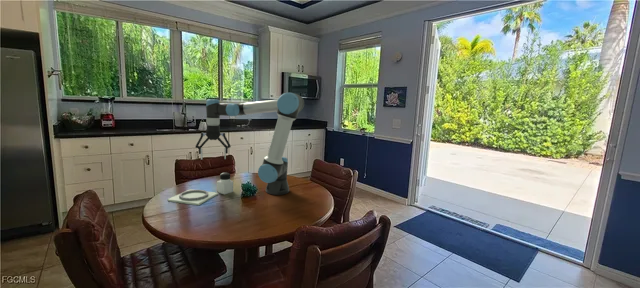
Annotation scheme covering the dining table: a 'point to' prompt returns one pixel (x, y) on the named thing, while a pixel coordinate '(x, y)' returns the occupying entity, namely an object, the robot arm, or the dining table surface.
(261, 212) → the dining table surface
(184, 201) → the socket board
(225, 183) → the medicine bottle
